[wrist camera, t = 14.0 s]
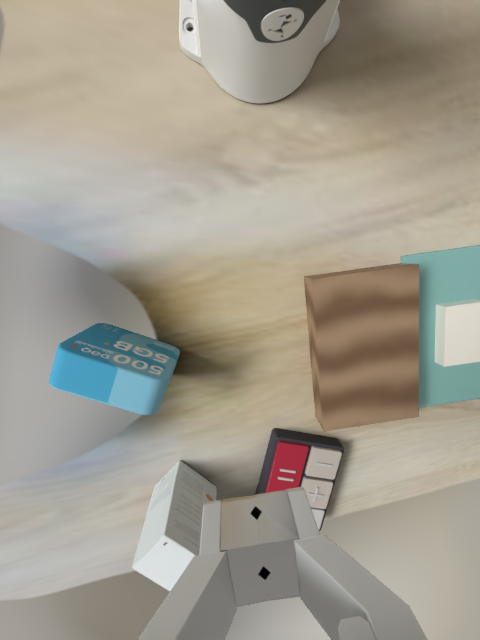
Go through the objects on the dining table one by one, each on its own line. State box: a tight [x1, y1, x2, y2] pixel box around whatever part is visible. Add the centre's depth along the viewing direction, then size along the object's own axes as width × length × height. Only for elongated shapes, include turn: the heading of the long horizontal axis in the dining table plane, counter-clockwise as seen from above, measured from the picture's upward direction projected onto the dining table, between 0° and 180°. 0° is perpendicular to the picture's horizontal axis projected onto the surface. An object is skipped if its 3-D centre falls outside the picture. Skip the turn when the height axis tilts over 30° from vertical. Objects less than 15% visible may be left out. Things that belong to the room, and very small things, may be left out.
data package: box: [49, 323, 180, 415], centre depth 37 cm, size 12×4×12 cm, turn 70°
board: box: [304, 263, 419, 431], centre depth 42 cm, size 22×14×4 cm, turn 8°
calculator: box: [255, 428, 344, 531], centre depth 47 cm, size 11×4×15 cm
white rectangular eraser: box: [435, 299, 480, 367], centre depth 44 cm, size 9×6×2 cm, turn 7°
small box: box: [132, 461, 217, 591], centre depth 42 cm, size 8×6×13 cm
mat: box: [401, 245, 480, 408], centre depth 45 cm, size 24×13×1 cm, turn 8°
